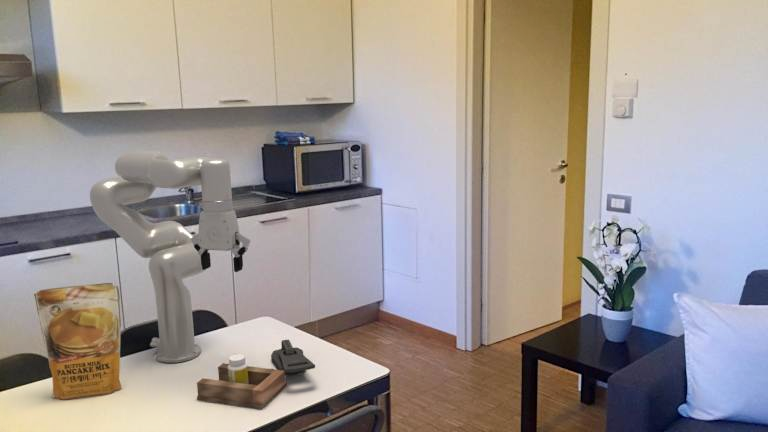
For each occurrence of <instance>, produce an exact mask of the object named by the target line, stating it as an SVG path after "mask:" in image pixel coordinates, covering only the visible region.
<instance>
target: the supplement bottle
mask: <svg viewBox="0 0 768 432" xmlns="http://www.w3.org/2000/svg"><path fill="white" fill-rule="evenodd" d="M228 364H229V366H228V375H229V382H235V383H243V384H249V382H248V369H247V366H248V363H246V356H245V355H244V354H239V353H238V354H233V355H230V356H229V357H228Z"/></svg>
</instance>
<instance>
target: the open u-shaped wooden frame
mask: <svg viewBox="0 0 768 432" xmlns="http://www.w3.org/2000/svg"><path fill="white" fill-rule="evenodd" d="M228 366H229V363H224V362H223V363H221V364H220V365H219V366H217V371H218V379H212V378H201V379H200V380H198V381H197V382H196V388H197V389H196V390H197V396H196V401H198V402H204V403H205V402H206V403H212V404H213V403H215V404H219V405H220V404H221V405H226V406H233V407H240V408H249V409H255V410H260V411H261V410H264V408H266V407H267V406H268V405H269V404H270V403H271V402H272V401H273V400H274V399H275V398H276V397H277V396H278V395H279V394H280V393H281V392H283V391H284V389H285V388H286V387H287V384H288V383H287V382H286V376H285V371H284V370H277V369H276V368H275V369H274V368H266V367H258V366H257V367H256V366H250V365H249V366H248V365H247V369H248V382H249V384H243V383H235V382H229V375H228Z"/></svg>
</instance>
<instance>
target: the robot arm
mask: <svg viewBox="0 0 768 432" xmlns="http://www.w3.org/2000/svg"><path fill="white" fill-rule="evenodd" d="M230 166H231V165H230V162H229V160H228V159H226V158H219V157H218V158H217V157H215V158H211V157H209V156H193V157H185V158H184V157H183V158H178V159H170V158H168V157H167V156H166V155H165V154H164V153H162V152H160V151H159V150H156V149H155V150H154V149H148V150H140V151H139V150H138V151H130V152H126V153H123V154H121V155H120V156H119V157H117V159H116V161H115V163H114V170H115V172H116V174H117V175H118V176H117V177H110V178H106V179H105V178H104V179H103V180H99V181H97V182H96V183H94V184H93V185H92V186H91V188H90V191H89V199H90V205H91V206H92V210H93V211H94V213H95V214H96V216H97V218H98V219H100V220H101V222H103V223H104V224H105V225H107V226H108V227H109V228H110V229H112V230H113V231H115V232H116V234H117V235H118V236H119V237H121V239H122V240H123V241H124V242H125V243H126V244H127V245H128V246H129V247H130V248H131V249H132V250H133V251H134V253H136V254H137V255H138V256H140V257H141V258H144V259H149V261H148V271H149V274H150V277H151V280H152V284H153V290H154V294H155V295H154V297H155V305H156V314H157V315H156V316H157V317H156V318H157V325H158V326H157V327H158V336H159V337H153V338H152V339H151V342H150V344H149V346H150V347H151V348H157V349H156V350H157V351H156V352H155V353H154V355H155V359H156V360H157V361H158V362H160V363H167V364H176V363H183V362H187V361H190V360H192V359H195V358H196V357H198V356H199V355H200V354H201V352H202V349H201V348H202V347H201V346H200V345H198V344H196V342H195V331H194V321H193V320H194V319H193V318H194V317H193V309H192V297H191V293H190V290H189V288H188V287H187V286H186V285H185V283H184V281H183V280H185V279H187V278H191V277H194V276H196V275H199V274H201V273H203V272H205V271H206V270H207V269H209V268H211V267H212V264H211V254H210V252H209V251H221V252H222V251H225V252H226V251H227V252H228V251H230V252H231V253H232V254H233V256H234V257H233V258H232V260H233V272H234V273H238V272H240V271H243V266H244V263H243V262H244V260H243V256H244V255H245V253H246V252H247V251H248V249H249V246H250V244H251V239H249V238H247V237H246V236H245V235H243V234H241V233H240V227H239V221H238V217H237V214H236V210H233V209H234V208H233V197H232V196H233V195H232V194H233V193H232V181H231V167H230ZM198 186H200V187H201V199H202V200H201V201H199V202H198V206H199V207H201V208H202V211H200V213H199V220H198V233H197V234H196V235H193V234H192V233H191V232H190V231H189V230H188V229H187V228H186V227H185V226H183V225H182V224H181V223H180V222H178V221H173V220H165V221H159V222H155V223H154V222H150V221H148V219H146V218H145V217H144V216H143V215H142V214H141V213H140V212H139V211H137V210H135V209H133V208H130V207H127V205H131V204H133V205H134V204H137V203H142V202H145V201H147V200H148V199H149V198H150V197H151V196H152V195H153V193H154V192H155V190H156V189H157V188H159V189H170V190H171V189H173V190H174V189H183V188H184V189H185V188H189V187H198ZM241 243H242V245H241ZM240 245H241V246H240Z"/></svg>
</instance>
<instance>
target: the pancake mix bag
mask: <svg viewBox="0 0 768 432" xmlns="http://www.w3.org/2000/svg"><path fill="white" fill-rule="evenodd" d="M113 284H114V283H113V282H104V283H96V284H95V283H93V284H87V285H72V286H63V287H62V286H60V287H53V288H47V289H41V290H39V291H37V292H35V293H33V296H34V300H35V305H36V310H37V314H38V317H39V322H40V323H39V324H40V330H41V333H42V338H43V342H44V348H45V350H46V353H47V359H48V365H49V369H50V373H51V377H52V396H51V398H52V399H60V400H73V399H84V398H89V397H98V396H107V395H111V394H114V393H115V392H116V391H118V390H122V389H123V387H122V384H121V380H120V373H121V372H120V369H121V337H122V336H121V335H122V334H121V326H122V319H121V307H120V306H121V305H120V298H121V297H120V290H119V289H120V288H119V286H118V285H113Z"/></svg>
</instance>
